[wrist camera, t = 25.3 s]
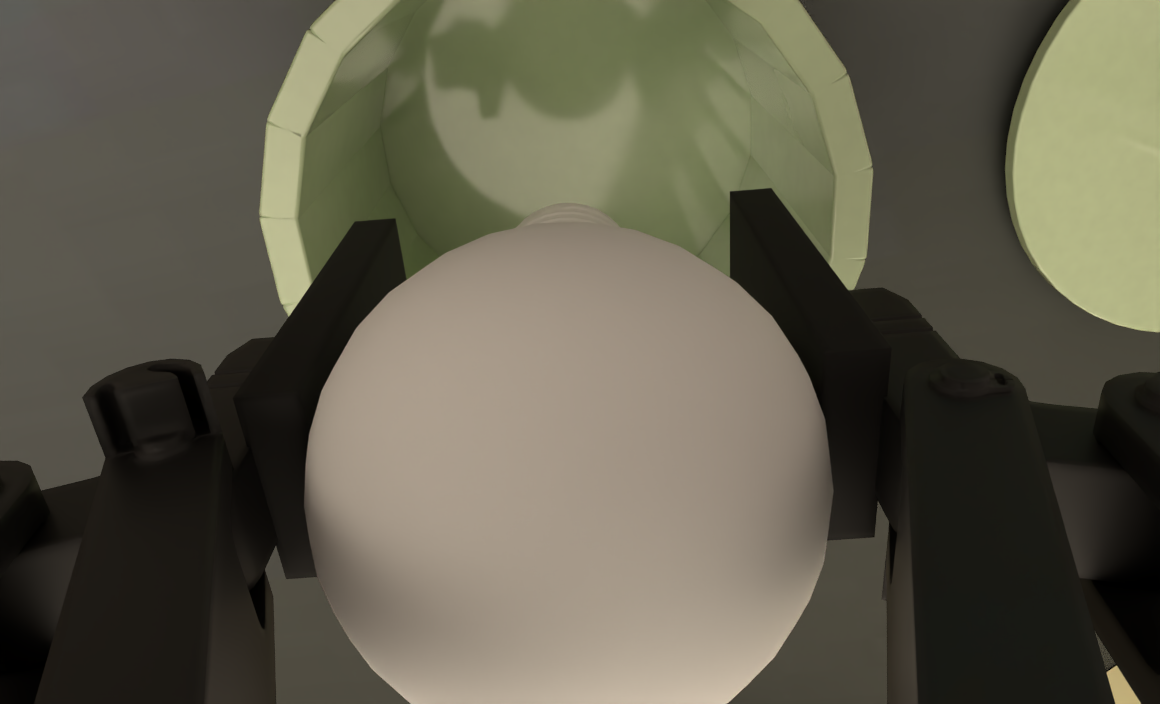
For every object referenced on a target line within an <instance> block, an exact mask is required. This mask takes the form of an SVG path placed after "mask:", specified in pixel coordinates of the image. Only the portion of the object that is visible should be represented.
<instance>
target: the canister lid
mask: <svg viewBox="0 0 1160 704" xmlns="http://www.w3.org/2000/svg"><path fill="white" fill-rule="evenodd" d="M1005 176H1006V192H1007V200H1008V204H1009V209H1010V214H1011V219H1012V222H1013V225H1014V228H1015V230H1016V233H1017V236H1018V238H1019V241H1020V243H1021V245H1022V247H1023V249H1024V251H1025V252H1026V254H1027V256H1028V257H1029V259H1030V261H1031V262H1032V264H1033V266H1034V267H1035V268H1036V269H1037V270H1038V272H1039V273H1040V274H1041V275H1042V276H1043V277H1044V279H1045V280H1046V281H1047V282H1048V283H1049V284H1050V285H1051V286H1052V287H1053V288H1055V289H1056V290H1057V291H1058V292H1059V293H1061V294H1062V295H1063V296H1064V297H1065V298H1067V299H1068V300H1069V301H1070V302H1072V303H1073V304H1075V305H1077V306H1078V307H1080V308H1082V309H1083V310H1085V311H1087V312H1088V313H1090V314H1092V315H1093V316H1096V317H1098V318H1101V319H1103V320H1106V321H1108V322H1111V323H1113V324H1116V325H1120V326H1124V327H1128V328H1132V329H1136V330H1142V331H1151V332H1160V0H1069V2H1068V3H1067V4H1066V6H1065V7H1064V8H1063V10H1062V11H1061V12H1060V14H1059V15H1058V16H1057V18H1056V19H1055V21H1054V23H1053V24H1052V26H1051V28H1050V29H1049V31H1048V33H1047V34H1046V36H1045V38H1044V39H1043V41H1042V43H1041V44H1040V46H1039V48H1038V49H1037V52H1036V54H1035V56H1034V58H1033V60H1032V62H1031V65H1030V67H1029V69H1028V71H1027V73H1026V75H1025V77H1024V80H1023V83H1022V86H1021V89H1020V92H1019V95H1018V98H1017V101H1016V104H1015V107H1014V110H1013V114H1012V119H1011V124H1010V129H1009V134H1008V138H1007V149H1006V163H1005Z"/></svg>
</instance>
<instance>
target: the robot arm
mask: <svg viewBox="0 0 1160 704" xmlns="http://www.w3.org/2000/svg"><path fill="white" fill-rule="evenodd" d="M730 278H731V279H732V280H734V281H735V282H737V283H738V284H739V285H740V286H741V287H742V288H743V289H744V290H745V291H746V292H747V293H748V294H749V295H750V296H752V297H753V298H754V299H755V300H756V301H757V302H758V303H759V304H760V305H761V306H762V307H763V308H764V309H765V310H766V311H767V312H768V313H769V314H770V315H771V316H772V317H773V318H774V320H775V321H776V323H777V324H778V326H779V327H780V329H781V330H782V332H783V333H784V335H785V336H786V338H787V339H788V341H789V342H790V344H791V345H792V347H793V348H794V350H795V351H796V353H797V354H798V356H799V358H800V360H801V362H802V364H803V366H804V367H805V369H806V371H807V373H808V375H809V377H810V380H811V382H812V385H813V388H814V391H815V393H816V396H817V399H818V401H819V404H820V407H821V410H822V412H823V415H824V418H825V423H826V430H827V438H828V446H829V455H830V464H831V472H832V481H833V490H834V492H833V500H832V507H831V515H830V523H829V530H828V538H827V540H841V539H855V538H869V537H874V535H875V524H876V513H877V502H878V501H879V503H880V505H881V507H882V509H883V511H884V513H885V515H886V516H887V518H888V520H889V532H888V541H887V551H886V561H885V571H884V581H883V591H882V600H886V601H887V704H1115V701H1114V697H1113V694H1112V690H1111V687H1110V683H1109V680H1108V676H1107V673H1106V669H1105V666H1104V662H1103V659H1102V655H1101V652H1100V648H1099V645H1098V641H1097V638H1096V634H1095V632H1096V633H1097V635H1098V637H1099V638H1100V640H1101V641H1102V643H1103V644H1104V646H1105V648H1106V649H1107V651H1108V652H1109V654H1110V655H1111V657H1112V659H1113V660H1114V662H1115V663H1116V665H1117V666H1118V668H1119V670H1120V671H1121V673H1122V674H1123V676H1124V677H1125V679H1126V681H1127V682H1128V684H1129V685H1130V687H1131V689H1132V690H1133V692H1134V693H1135V695H1136V696H1137V698H1138V700H1139V701H1140V703H1141V704H1160V372H1157V373H1147V372H1138V373H1131V374H1124V375H1119V376H1117V377H1115V378H1113V379H1111V380H1109V381H1107V382H1106V383H1105V385H1104V387H1103V390H1102V393H1101V397H1100V402H1099V406H1098V409H1095V408H1084V407H1073V406H1062V405H1051V404H1044V403H1038V402H1031V401H1029V400H1028V397H1027V393H1026V390H1025V388H1024V386H1023V385H1022V383H1021V382H1020V381H1019V379H1018V378H1017V377H1015V376H1014V375H1012V374H1010V373H1009V372H1007V371H1006V370H1004V369H1002V368H999V367H996V366H993V365H990V364H987V363H984V362H980V361H973V360H966V359H960V358H959V357H958V355H957V354H956V353H955V352H954V351H953V350H952V349H951V348H950V346H949V345H948V344H947V343H946V342H945V341H944V340H943V339H942V337H941V336H940V335H939V334H938V333H937V332H936V331H933V327H932V326H931V325H930V324H929V323H928V322H927V321H926V319H925V318H922V315H921V314H920V313H919V312H918V310H917V309H916V308H915V307H914V306H913V305H912V304H911V303H910V301H909V300H907V299H905V298H903V297H901V296H899V295H897V294H895V293H893V292H891V291H889V290H887V289H885V288H871V289H858V290H848V289H847V288H846V287H845V285H844V284H843V283H842V281H841V280H840V279H839V277H838V276H837V275H836V273H835V272H834V271H833V269H832V268H831V267H830V265H829V264H828V263H827V261H826V260H825V259H824V257H823V256H822V255H821V253H820V252H819V251H818V249H817V248H816V247H815V245H814V244H813V243H812V241H811V240H810V239H809V237H808V236H807V235H806V233H805V232H804V231H803V229H802V228H801V227H800V225H799V224H798V223H797V221H796V220H795V219H794V217H793V216H792V215H791V213H790V212H789V211H788V209H787V208H786V207H785V205H784V204H783V203H782V201H781V200H780V199H779V198H778V196H777V195H776V194H775V192H774V191H773V190H772V188H765V189H753V190H740V191H730ZM406 280H407V279H406V273H405V268H404V262H403V257H402V251H401V246H400V240H399V235H398V229H397V224H396V218H392V219H379V220H367V221H355V222H354V223H353V225H352V226H351V228H350V229H349V230H348V232H347V233H346V235H345V236H344V238H343V239H342V241H341V242H340V244H339V245H338V246H337V248H336V249H335V251H334V252H333V254H332V255H331V257H330V258H329V259H328V261H327V262H326V264H325V265H324V267H323V268H322V270H321V271H320V272H319V274H318V275H317V277H316V278H315V280H314V281H313V283H312V284H311V285H310V287H309V288H308V290H307V291H306V293H305V294H304V296H303V297H302V298H301V300H300V301H299V303H298V304H297V306H296V307H295V309H294V310H293V311H292V313H291V314H290V316H289V317H288V319H287V320H286V322H285V323H284V324H283V326H282V327H281V329H280V330H279V332H278V333H277V335H276V336H275V337H271V338H258V339H251V340H250V341H248V342H247V343H245V344H244V345H242V346H241V347H239V348H237V349H236V350H234V351H233V352H231V353H230V354H228V355H227V356H226V358H225V359H224V360H223V362H222V363H221V364H220V365H219V367H218V368H217V369H216V371H215V375H212V376H211V377H210V378H209V380H208V381H206V377H205V374H204V371H203V369H202V367H201V365H200V364H198V363H196V362H193V361H191V360H184V359H166V360H158V361H150V362H146V363H143V364H139V365H135V366H131V367H128V368H125V369H123V370H121V371H118V372H116V373H114V374H111V375H109V376H107V377H105V378H104V379H102V380H100V381H99V382H97V383H96V384H94V385H93V386H91V387H90V388H89V390H88V391H87V392H86V394H85V395H84V396H83V397H82V398H83V401H84V403H85V406H86V408H87V411H88V414H89V416H90V419H91V421H92V424H93V427H94V429H95V432H96V434H97V437H98V439H99V442H100V445H101V447H102V450H103V452H104V455H105V462H104V465H103V469H102V472H101V475H100V476H98V477H94V478H91V479H87V480H83V481H79V482H75V483H71V484H67V485H63V486H59V487H54V488H50V489H46V490H42V491H41V489H40V487H39V485H38V483H37V480H36V478H35V476H34V473H33V471H32V469H31V466H30V465H28V464H25V463H22V462H19V461H0V704H276V680H275V643H274V606H273V594H272V591H271V588H270V585H269V581H268V578H267V575H266V572H265V567H266V565H267V563H268V561H269V559H270V557H271V554H272V552H273V550H274V548H275V546H277V550H278V553H279V556H280V560H281V563H282V567H283V570H284V573H285V577H286V579H293V578H307V577H317V574H316V569H315V565H314V560H313V555H312V550H311V545H310V540H309V535H308V529H307V522H306V516H305V509H304V492H305V467H306V456H307V447H308V439H309V432H310V429H311V425H312V422H313V419H314V415H315V412H316V408H317V405H318V401H319V398H320V394H321V391H322V389H323V387H324V385H325V383H326V381H327V379H328V377H329V375H330V373H331V372H332V370H333V368H334V366H335V364H336V362H337V361H338V359H339V357H340V355H341V354H342V352H343V350H344V348H345V347H346V345H347V343H348V341H349V340H350V338H351V336H352V334H353V333H354V331H355V329H356V328H357V327H358V325H359V324H360V323H361V322H362V321H363V320H364V319H365V318H366V317H367V316H368V315H369V313H370V312H371V311H372V310H373V309H374V308H375V307H376V306H377V305H378V304H379V303H380V302H381V300H382V299H383V298H384V297H385V296H386V295H387V294H388V293H389V292H390V291H392V290H393V289H394V288H396V287H397V286H399V285H400V284H402V283H403V282H404V281H406ZM1094 630H1095V631H1094Z"/></svg>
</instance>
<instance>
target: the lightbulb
mask: <svg viewBox="0 0 1160 704" xmlns="http://www.w3.org/2000/svg"><path fill="white" fill-rule="evenodd" d="M833 492H834V490H833V481H832V472H831V464H830V455H829V446H828V438H827V430H826V423H825V418H824V415H823V412H822V410H821V407H820V404H819V401H818V399H817V396H816V393H815V391H814V388H813V385H812V382H811V380H810V377H809V375H808V373H807V371H806V369H805V367H804V366H803V364H802V362H801V360H800V358H799V356H798V354H797V353H796V351H795V350H794V348H793V347H792V345H791V344H790V342H789V341H788V339H787V338H786V336H785V335H784V333H783V332H782V330H781V329H780V327H779V326H778V324H777V323H776V321H775V320H774V318H773V317H772V316H771V315H770V314H769V313H768V312H767V311H766V310H765V309H764V308H763V307H762V306H761V305H760V304H759V303H758V302H757V301H756V300H755V299H754V298H753V297H752V296H750V295H749V294H748V293H747V292H746V291H745V290H744V289H743V288H742V287H741V286H740V285H739V284H738V283H737V282H735V281H734V280H732V279H731V278H729V277H728V276H726V275H725V274H723V273H722V272H720V271H719V270H717V269H716V268H714V267H712V266H711V265H709V264H707V263H706V262H704V261H703V260H701V259H699V258H698V257H696V256H695V255H693V254H691V253H690V252H688V251H686V250H685V249H683V248H682V247H680V246H677V245H675V244H672V243H669V242H667V241H664V240H661V239H658V238H656V237H653V236H650V235H648V234H645V233H642V232H640V231H637V230H633V229H627V228H621V227H619V225H618V224H617V223H616V222H615V221H614V220H612V219H611V218H610V217H609V216H608V215H606V214H605V213H603V212H601V211H600V210H598V209H596V208H593V207H590V206H587V205H584V204H578V203H558V204H554V205H549V206H546V207H544V208H541V209H539V210H537V211H535V212H533V213H532V214H531V215H529V216H528V217H526V218H525V219H524V220H523V221H522V222H521V223H520V224H519V225H518V226H517V227H516V228H513V229H509V230H504V231H500V232H495V233H491V234H488V235H485V236H483V237H481V238H479V239H476V240H474V241H472V242H469V243H467V244H465V245H462V246H460V247H458V248H456V249H453V250H451V251H449V252H446V253H445V254H443V255H442V256H440V257H439V258H437V259H436V260H434V261H433V262H431V263H430V264H429V265H427V266H426V267H424V268H423V269H422V270H420V271H419V272H417V273H416V274H414V275H413V276H412V277H410V278H409V279H407V280H406V281H404V282H403V283H402V284H400V285H399V286H397V287H396V288H394V289H393V290H392V291H390V292H389V293H388V294H387V295H386V296H385V297H384V298H383V299H382V300H381V302H380V303H379V304H378V305H377V306H376V307H375V308H374V309H373V310H372V311H371V312H370V313H369V315H368V316H367V317H366V318H365V319H364V320H363V321H362V322H361V323H360V324H359V325H358V327H357V328H356V329H355V331H354V333H353V334H352V336H351V338H350V340H349V341H348V343H347V345H346V347H345V348H344V350H343V352H342V354H341V355H340V357H339V359H338V361H337V362H336V364H335V366H334V368H333V370H332V372H331V373H330V375H329V377H328V379H327V381H326V383H325V385H324V387H323V389H322V391H321V394H320V398H319V401H318V405H317V408H316V412H315V415H314V419H313V422H312V425H311V429H310V432H309V439H308V447H307V456H306V467H305V492H304V509H305V516H306V522H307V529H308V535H309V540H310V545H311V550H312V555H313V560H314V565H315V569H316V574H317V578H318V580H319V582H320V584H321V587H322V589H323V591H324V593H325V595H326V597H327V599H328V602H329V604H330V606H331V608H332V610H333V612H334V614H335V616H336V618H337V619H338V621H339V623H340V624H341V626H342V628H343V629H344V631H345V633H346V634H347V636H348V638H349V639H350V641H351V642H352V643H353V645H354V646H355V647H356V649H357V650H358V651H359V653H360V654H361V655H362V656H363V658H364V659H365V660H366V662H367V663H368V664H369V666H370V667H371V668H372V670H373V671H375V672H376V673H377V674H378V675H379V676H380V677H381V678H382V679H384V680H385V681H386V682H387V683H388V684H389V685H390V686H391V687H393V688H394V689H395V690H396V691H397V692H398V693H399V694H400V695H402V696H403V697H404V698H405V699H406V700H407V701H408V702H409V703H411V704H727V703H728V702H729V701H730V700H732V699H733V698H734V697H735V696H736V695H737V694H738V693H739V692H740V691H741V690H742V689H744V688H745V687H746V686H747V685H748V684H749V683H750V682H751V681H752V680H753V679H754V678H755V677H756V676H757V675H758V674H759V673H760V672H761V671H762V670H763V669H764V668H765V667H766V665H767V664H768V663H769V662H770V661H771V660H772V659H773V658H774V657H775V655H776V654H777V652H778V651H779V649H780V648H781V646H782V645H783V643H784V642H785V640H786V639H787V637H788V636H789V634H790V632H791V631H792V629H793V628H794V626H795V625H796V623H797V621H798V619H799V618H800V616H801V614H802V612H803V611H804V609H805V607H806V606H807V604H808V602H809V600H810V598H811V595H812V593H813V590H814V587H815V585H816V582H817V579H818V577H819V574H820V571H821V569H822V566H823V564H824V558H825V551H826V544H827V538H828V530H829V523H830V515H831V507H832V500H833Z"/></svg>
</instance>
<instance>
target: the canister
mask: <svg viewBox="0 0 1160 704" xmlns="http://www.w3.org/2000/svg"><path fill="white" fill-rule="evenodd" d="M846 72H847V71H846V68H845V66H844V65H843V63H842V62H841V60H840V59H839V57H838V56H837V54H836V53H835V52H834V50H833V49H832V47H831V46H830V44H829V43H828V41H827V40H826V38H825V37H824V35H823V34H822V33H821V31H820V30H819V28H818V27H817V25H816V24H815V22H814V21H813V19H812V18H811V17H810V15H809V14H808V12H807V11H806V9H805V8H804V6H803V5H802V3H801V2H800V1H799V0H335V1H334V2H333V3H332V4H331V5H330V6H329V7H328V8H327V9H326V10H325V11H324V12H323V13H322V14H321V15H320V16H319V17H318V18H317V19H316V20H315V21H314V22H313V23H312V24H311V27H310V29H309V30H307V31H306V32H305V35H304V37H303V39H302V41H301V44H300V46H299V48H298V50H297V52H296V55H295V57H294V59H293V61H292V64H291V66H290V68H289V70H288V73H287V75H286V77H285V79H284V82H283V84H282V86H281V88H280V90H279V93H278V95H277V97H276V99H275V102H274V104H273V106H272V108H271V111H270V113H269V115H268V117H267V121H268V122H267V124H266V131H265V144H264V156H263V169H262V182H261V195H260V207H259V214H260V218H259V220H260V224H261V228H262V232H263V236H264V240H265V244H266V247H267V251H268V255H269V259H270V263H271V267H272V271H273V275H274V279H275V283H276V287H277V291H278V295H279V299H280V303H281V304H282V305H283V306H284V309H285V311H286V313H287V314H288V316H290V314H291V313H292V311H293V310H294V309H295V307H296V306H297V304H298V303H299V301H300V300H301V298H302V297H303V296H304V294H305V293H306V291H307V290H308V288H309V287H310V285H311V284H312V283H313V281H314V280H315V278H316V277H317V275H318V274H319V272H320V271H321V270H322V268H323V267H324V265H325V264H326V262H327V261H328V259H329V258H330V257H331V255H332V254H333V252H334V251H335V249H336V248H337V246H338V245H339V244H340V242H341V241H342V239H343V238H344V236H345V235H346V233H347V232H348V230H349V229H350V228H351V226H352V225H353V223H354V222H355V221H367V220H379V219H392V218H396V224H397V229H398V235H399V240H400V246H401V251H402V257H403V262H404V268H405V273H406V279H409V278H410V277H412V276H413V275H414V274H416V273H417V272H419V271H420V270H422V269H423V268H424V267H426V266H427V265H429V264H430V263H431V262H433V261H434V260H436V259H437V258H439V257H440V256H442V255H443V254H445V253H446V252H449V251H451V250H453V249H456V248H458V247H460V246H462V245H465V244H467V243H469V242H472V241H474V240H476V239H479V238H481V237H483V236H485V235H488V234H491V233H495V232H500V231H504V230H509V229H513V228H516V227H517V226H518V225H519V224H520V223H521V222H522V221H523V220H524V219H525V218H526V217H528V216H529V215H531V214H532V213H533V212H535V211H537V210H539V209H541V208H544V207H546V206H549V205H554V204H558V203H578V204H584V205H587V206H590V207H593V208H596V209H598V210H600V211H601V212H603V213H605V214H606V215H608V216H609V217H610V218H611V219H612V220H614V221H615V222H616V223H617V224H618V225H619V227H621V228H627V229H633V230H637V231H640V232H642V233H645V234H648V235H650V236H653V237H656V238H658V239H661V240H664V241H667V242H669V243H672V244H675V245H677V246H680V247H682V248H683V249H685V250H686V251H688V252H690V253H691V254H693V255H695V256H696V257H698V258H699V259H701V260H703V261H704V262H706V263H707V264H709V265H711V266H712V267H714V268H716V269H717V270H719V271H720V272H722V273H723V274H725V275H726V276H728V277H729V278H730V191H740V190H753V189H765V188H772V190H773V191H774V192H775V194H776V195H777V196H778V198H779V199H780V200H781V201H782V203H783V204H784V205H785V207H786V208H787V209H788V211H789V212H790V213H791V215H792V216H793V217H794V219H795V220H796V221H797V223H798V224H799V225H800V227H801V228H802V229H803V231H804V232H805V233H806V235H807V236H808V237H809V239H810V240H811V241H812V243H813V244H814V245H815V247H816V248H817V249H818V251H819V252H820V253H821V255H822V256H823V257H824V259H825V260H826V261H827V263H828V264H829V265H830V267H831V268H832V269H833V271H834V272H835V273H836V275H837V276H838V277H839V279H840V280H841V281H842V283H843V284H844V285H845V287H846V288H847V289H848V290H854V288H855V286H856V283H857V281H858V278H859V276H860V273H861V271H862V269H863V266H864V264H865V258H866V257H867V248H868V235H869V221H870V208H871V194H872V181H873V168H872V167H871V166H872V159H871V155H870V151H869V148H868V144H867V140H866V136H865V132H864V129H863V125H862V121H861V117H860V114H859V110H858V106H857V102H856V98H855V95H854V91H853V87H852V83H851V79H850V76H849V75H848V74H847V73H846Z"/></svg>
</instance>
